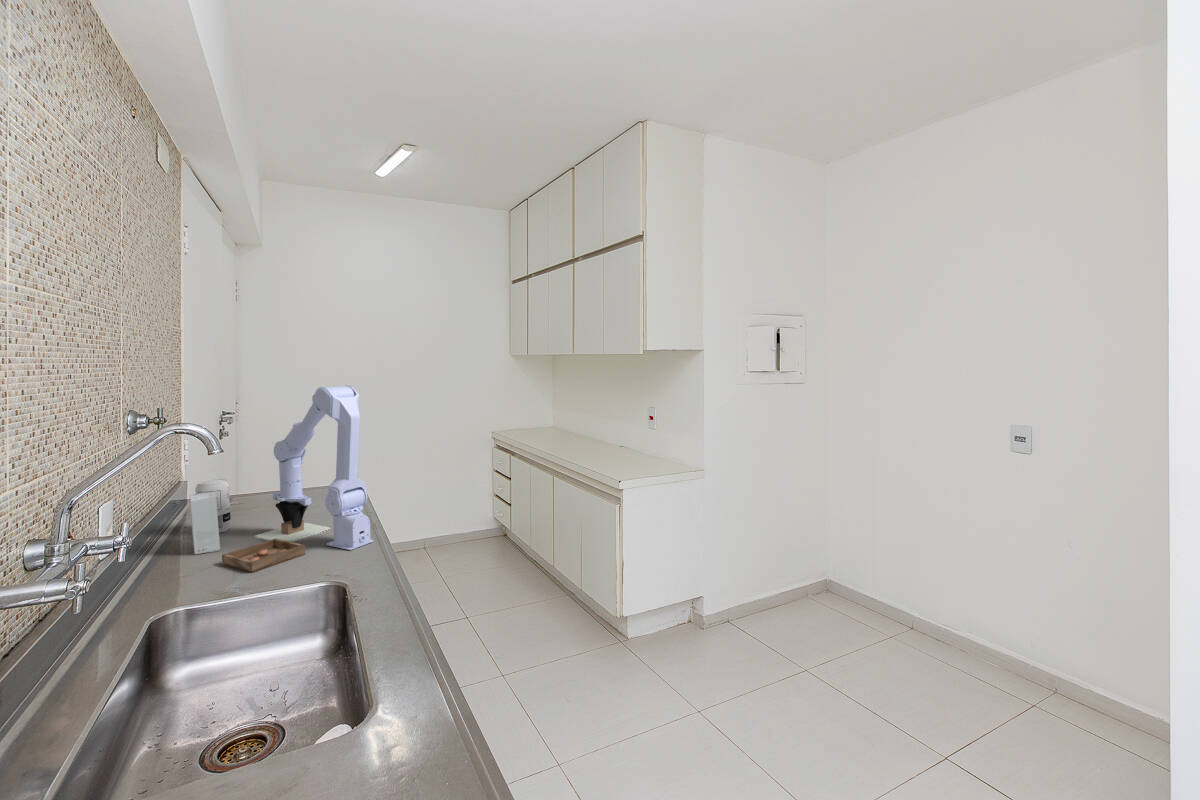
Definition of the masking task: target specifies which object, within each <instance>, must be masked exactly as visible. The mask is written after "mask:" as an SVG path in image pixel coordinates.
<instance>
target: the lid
mask: <svg viewBox="0 0 1200 800" xmlns="http://www.w3.org/2000/svg"><path fill="white" fill-rule="evenodd" d="M304 521H305V520H304V519H302V523H301V526H300V527H297V528H293V526H292V521H288V522H284V521H283V522H281V523H280V528H276V529H273V530H269V531H266V532H262V533H258V534H255V535H253V539H257V538H258V539H257V540H261V539H262V541H265V542H266V541H269V540H272V539H280V540H285V541H289V542H292V541H293V542H295V540H296V541H298V539H299V540H302V539H305V538H309V537H311V535H312V536H314V534H315V535H316V534H317V533H318V534H321V533H323V532H322V531H324V532H326V531H325V530H327V531H329V530H328V529H330V530H331V527H329V526H323V525H319V524H314V523H309V522H304ZM320 532H321V533H320ZM308 536H309V537H308ZM301 538H302V539H301Z"/></svg>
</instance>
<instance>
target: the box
mask: <svg viewBox="0 0 1200 800" xmlns="http://www.w3.org/2000/svg"><path fill="white" fill-rule="evenodd" d="M305 555H306V544H301V543H299V542H298V543H297V542H294V541H293V542H289V541H285V540H280V539H272V540H269V541H266V540H265V541H263V542H260V543H257V544H253V545H250V546H247V547H243V548H240V549H237V550H234V551H229V552H227V553H223V554H221V560H222V561H221V562H222V565H223V566H227V567H230V568H234V569H237V570H240V571H244V572H247V573H251V574H253V573H254V574H255V573H257V572H259V571H262V570H265V569H267V568H271V567H274V566H276V565H279V564H282V563H284V562H288V561H291V560H294V559H295V558H299V557H302V556H305Z"/></svg>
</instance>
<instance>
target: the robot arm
mask: <svg viewBox="0 0 1200 800" xmlns="http://www.w3.org/2000/svg"><path fill="white" fill-rule="evenodd" d="M311 397H312V400H311V401H312V404H311V405H310V407H309V409H308V411H307V413H306V414H305V416H304V418H302V421H298V422H296V423H294V424H292V428H291V430H290V431H289V432H288V434H287V435H286V436H285V438H284V439H281V440H279V441H277V442H275V443H274V446H273V456H274V457H275V459H276V460H277V461H278V470H279V471H278V472H279V492H275V493H272V501H278V502H277V503H275V507H276V508H277V510H278V512H279V513H280V516H281V518H282V521H283V523H284V522H288V521H292V526H293V528H297V527H300V526H301V523H302V520H304V519H303V518H304V515H305V512H306V510H307V509H308V507H309V505H312V497H309V496H307V495H305V494H303V493H304V492H303V472H302V471H303V469H302V466H303V465H302V464H303V463H304V457H305V455H306V451H307V449H306V447H307V445H308V443H309V442H310V441H311V440H312V438H313V437H314V435H315V433H316V432H315V431H316V430H315V427H316V426H317V425H318V424H319V423H320V422H321V420H322V419H324V417H325V416H326V415H327V416H329V417H330V418H331V419H334V421H335V422H337V435H336V437H337V439H336V462H335V463H336V465H335V468H336V469H335V479H334V480H333V481H332V483H330V485H329V486H328V487H327V489H328V491H327V495H326V497H325V501H324V502H325V508H326V510H327V511H328V513H330V515H332V523H333V524H332V527H333V540H332V541H329V542H327V543H326V546H329V547H334V548H338V549H341V550H342V549H344V550H346V551H347V550H348V551H352V550H354V549H358V548H359V547H360V548H361V547H363V546H365V545H367V544H370V543H373V542H374V540H373V539H371V537H372V536H371V521H370V518H369V517H368V516H367V515H365V514H364V513H363V512H362V511H363V510H364V506H365V505H366V504H367V501H368V493H367V489H366V482H365V481H363V480H362V479H360V478H359V477H358V475H359V474H358V473H359V451H360V450H359V449H360V446H359V445H360V426H361V425H360V422H361V420H360V419H361V416H360V415H361V414H360V410H359V406H360V394H359V393H358V392H357V390H356V389H355V388H354V387H353V386H351V385H344V386H327V387H326V386H321V387H318V388H316V390H315V392H314V394H313V395H312V396H311Z"/></svg>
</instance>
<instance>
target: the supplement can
mask: <svg viewBox="0 0 1200 800" xmlns="http://www.w3.org/2000/svg"><path fill="white" fill-rule="evenodd" d="M194 489H195V490H194V491H195V494H202V493H209V492H215V493H216V502H217V516H218V530H219V534H222V533H225V532H227V531H229V530H230V528H231V527H232V519H231V517H232V516H231V501H230V496H231V495H230V485H229V483H228V482H227V479H224V478H217V479H216V478H214V479H206V480H201V481H198V482H197V485H196V487H195V488H194ZM228 529H229V530H228ZM221 532H222V533H221Z"/></svg>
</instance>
